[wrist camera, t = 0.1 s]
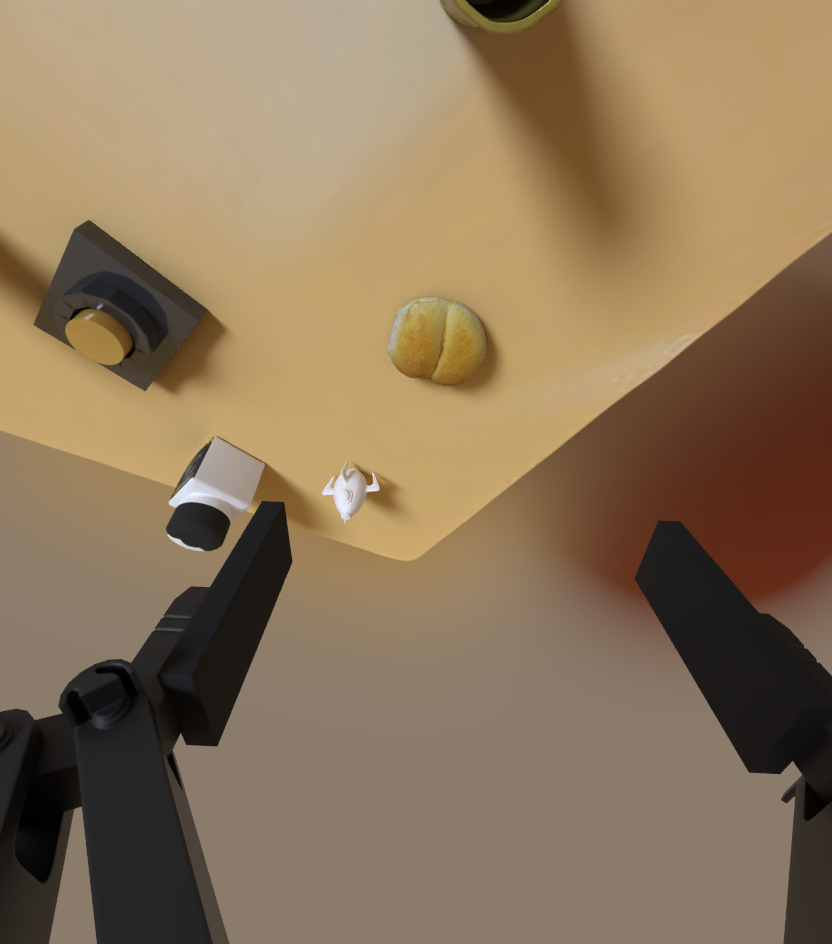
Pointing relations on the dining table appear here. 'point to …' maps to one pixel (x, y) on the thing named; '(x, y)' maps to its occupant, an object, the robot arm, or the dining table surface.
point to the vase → (499, 13)
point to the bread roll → (437, 341)
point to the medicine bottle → (212, 495)
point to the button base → (119, 301)
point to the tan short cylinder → (99, 336)
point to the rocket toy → (350, 491)
